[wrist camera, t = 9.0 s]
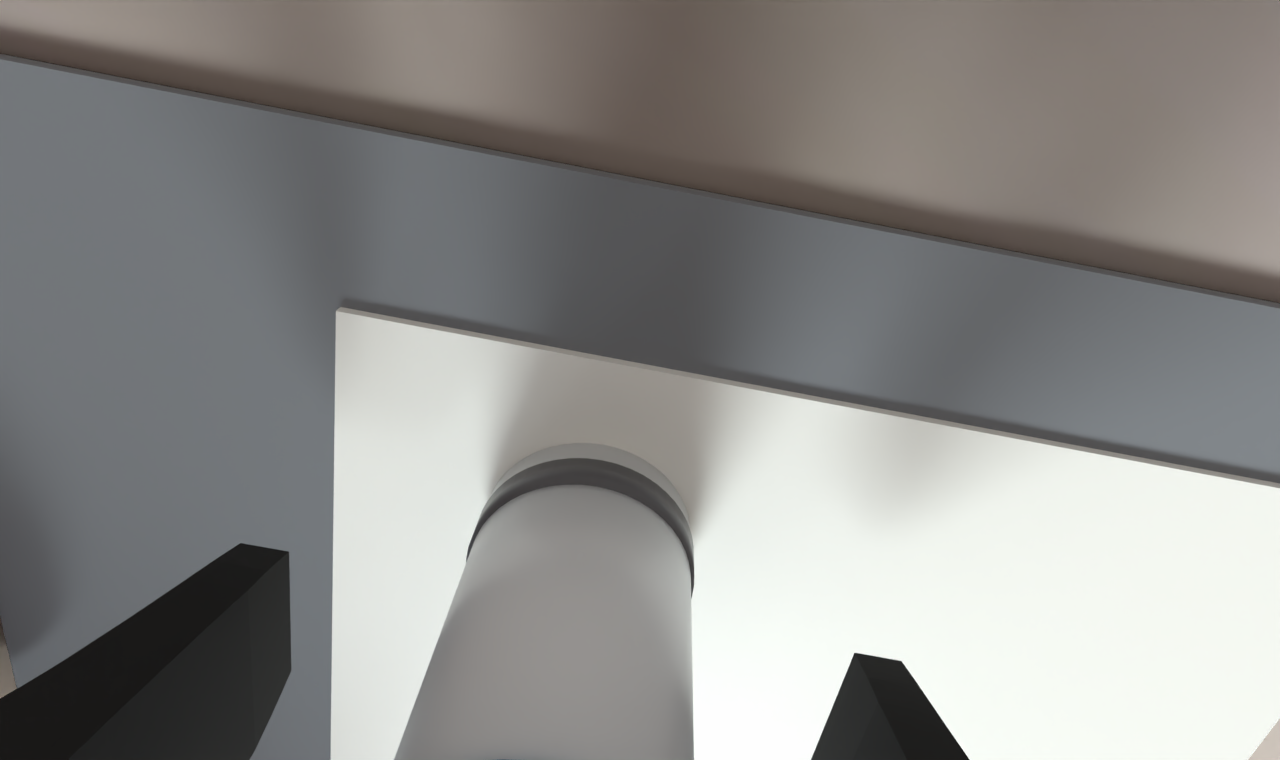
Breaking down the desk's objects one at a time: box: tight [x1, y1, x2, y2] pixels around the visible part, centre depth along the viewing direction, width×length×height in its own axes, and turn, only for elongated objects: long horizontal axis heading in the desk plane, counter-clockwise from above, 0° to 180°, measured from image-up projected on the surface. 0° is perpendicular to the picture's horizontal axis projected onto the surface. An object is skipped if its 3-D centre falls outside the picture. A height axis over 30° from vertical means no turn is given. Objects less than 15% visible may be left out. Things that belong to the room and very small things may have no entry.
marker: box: [394, 443, 694, 760], centre depth 9 cm, size 3×3×8 cm
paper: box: [330, 307, 1280, 760], centre depth 14 cm, size 12×16×1 cm
